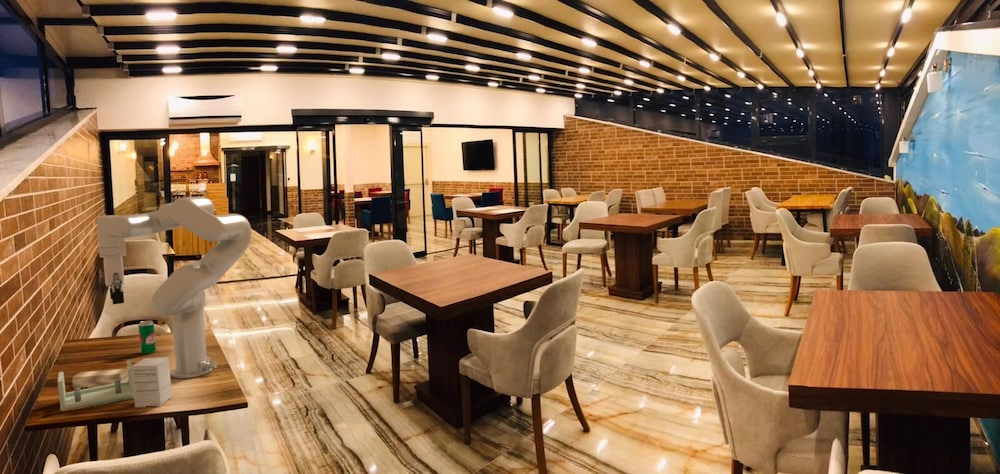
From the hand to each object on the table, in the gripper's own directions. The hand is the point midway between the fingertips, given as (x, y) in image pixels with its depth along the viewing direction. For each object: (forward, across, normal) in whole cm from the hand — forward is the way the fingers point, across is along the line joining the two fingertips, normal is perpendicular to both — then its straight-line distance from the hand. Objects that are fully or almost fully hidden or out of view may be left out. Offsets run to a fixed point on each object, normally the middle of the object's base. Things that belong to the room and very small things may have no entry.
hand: (117, 301), depth 193 cm
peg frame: (+25, +25, -8) cm, 36 cm away
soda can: (+25, -18, +9) cm, 32 cm away
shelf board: (+25, +10, -7) cm, 28 cm away
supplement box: (+25, +40, +5) cm, 47 cm away
